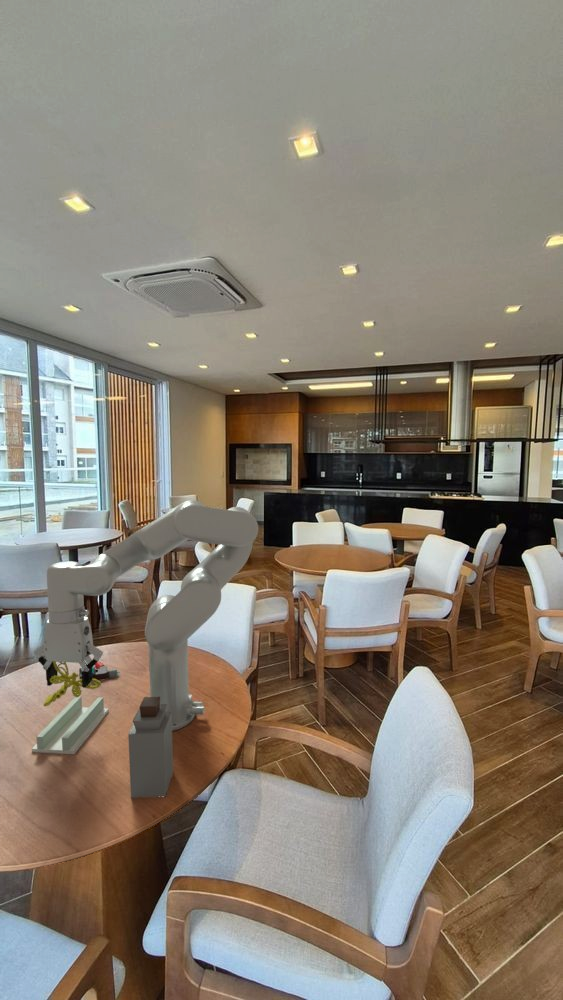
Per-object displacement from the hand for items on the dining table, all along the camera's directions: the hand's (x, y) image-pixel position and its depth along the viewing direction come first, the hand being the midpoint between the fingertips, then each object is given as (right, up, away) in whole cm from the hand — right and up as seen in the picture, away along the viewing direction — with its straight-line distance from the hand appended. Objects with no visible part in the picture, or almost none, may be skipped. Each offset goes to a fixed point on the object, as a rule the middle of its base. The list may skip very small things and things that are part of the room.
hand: (69, 683), depth 101 cm
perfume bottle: (+25, -14, -16) cm, 33 cm away
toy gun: (-5, -10, +28) cm, 30 cm away
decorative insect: (+1, -4, 0) cm, 4 cm away
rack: (0, -12, +1) cm, 12 cm away
